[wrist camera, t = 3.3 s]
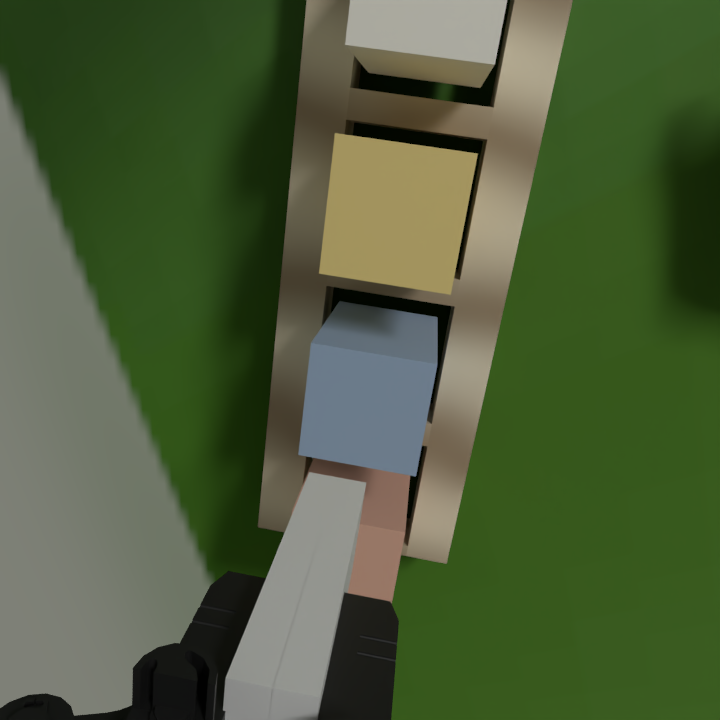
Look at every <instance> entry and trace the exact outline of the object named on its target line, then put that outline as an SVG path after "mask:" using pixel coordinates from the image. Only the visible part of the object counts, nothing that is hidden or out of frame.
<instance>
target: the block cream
mask: <svg viewBox="0 0 720 720" xmlns="http://www.w3.org/2000/svg"><path fill="white" fill-rule="evenodd" d="M506 4H507V0H350V6H349V15H348V23H347V32H346V41H345V45H346V46H347V48H348V49H349V50H350V51H351V52H352V54H353V55H354V56H355V57H356V58H357V60H358V61H359V62H360V63H361V64H362V66H363V67H364V68H365V69H366V70H367V71H368V73H373V74H381V75H388V76H395V77H403V78H410V79H417V80H425V81H432V82H439V83H447V84H454V85H462V86H469V87H476V88H481V86H482V85H483V83H484V81H485V80H486V78H487V77H488V75H489V73H490V72H491V70H492V69H493V67H494V65H495V62H496V57H497V51H498V46H499V41H500V36H501V30H502V25H503V20H504V15H505V10H506Z"/></svg>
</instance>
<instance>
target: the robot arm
mask: <svg viewBox="0 0 720 720" xmlns="http://www.w3.org/2000/svg"><path fill="white" fill-rule="evenodd" d="M365 488H366V482H360V481H355V480H349V479H344V478H338V477H333V476H328V475H322V474H317V473H311V472H309V474H308V477H307V479H306V481H305V484H304V486H303V489H302V491H301V494H300V496H299V499H298V501H297V504H296V506H295V509H294V511H293V513H292V516H291V518H290V521H289V523H288V526H287V528H286V531H285V533H284V536H283V538H282V541H281V543H280V545H279V548H278V550H277V553H276V555H275V558H274V560H273V563H272V565H271V568H270V570H269V572H268V575H267V577H266V578H261V577H256V576H250V575H245V574H240V573H235V572H230V571H228V572H227V573H226V574H224V575H223V576H222V577H221V578H219V579H218V580H217V581H216V582H214V583H213V584H212V585H211V586H210V588H209V589H208V591H207V593H206V595H205V597H204V599H203V601H202V603H201V606H200V608H198V610H197V612H196V614H195V616H194V618H193V621H192V623H190V625H189V627H188V629H187V631H186V633H185V635H184V637H183V638H182V640H181V642H180V644H179V643H174V644H170V645H166V646H162V647H158V648H156V649H154V650H153V651H151V652H149V653H148V654H146V655H144V656H143V657H142V658H141V659H140V661H139V662H138V663H137V664H136V665H135V666H134V668H133V698H132V700H133V701H132V706H129V707H127V708H124V709H122V710H118V711H113V712H108V713H99V714H89V715H78V716H74V715H73V712H72V708H71V706H70V705H69V704H68V703H67V702H66V701H64V700H63V699H62V698H61V697H57V696H53V695H49V694H36V695H27V696H25V697H22V698H19V699H17V700H14V701H11V702H9V703H7V704H6V705H5V706H3V707H2V708H0V720H391V713H392V700H393V688H394V675H395V660H396V649H397V637H398V624H399V621H398V618H397V616H396V613H395V611H394V609H393V606H392V604H391V602H390V601H386V600H381V599H375V598H370V597H365V596H360V595H355V594H350V593H348V589H349V584H350V579H351V574H352V569H353V562H354V556H355V550H356V544H357V538H358V531H359V525H360V519H361V513H362V506H363V500H364V494H365Z"/></svg>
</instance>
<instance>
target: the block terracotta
mask: <svg viewBox="0 0 720 720" xmlns="http://www.w3.org/2000/svg"><path fill="white" fill-rule="evenodd" d="M309 472H311V473H317V474H322V475H328V476H333V477H338V478H344V479H349V480H355V481H360V482H366V488H365V494H364V500H363V506H362V513H361V519H360V525H359V531H358V538H357V544H356V550H355V556H354V562H353V569H352V574H351V579H350V584H349V589H348V593H350V594H355V595H360V596H365V597H370V598H375V599H381V600H386V601H390V602H391V604H392V599H393V594H394V589H395V583H396V578H397V573H398V568H399V563H400V557H401V552H402V547H403V542H404V536H405V530H406V518H407V507H408V495H409V484H410V475H405V474H399V473H394V472H388V471H383V470H377V469H372V468H367V467H361V466H356V465H350V464H345V463H339V462H334V461H328V460H323V459H317V458H313V461H312V463H311V466H310V468H309V471H308V473H307V475H306V478H305V480H304V483H303V485H302V488H301V490H300V492H299V495H298V497H297V500H296V502H295V505H294V507H293V509H292V513H293V511H294V509H295V506H296V504H297V501H298V499H299V496H300V494H301V491H302V489H303V486H304V484H305V481H306V479H307V477H308V474H309ZM291 516H292V514H291Z"/></svg>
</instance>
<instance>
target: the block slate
mask: <svg viewBox="0 0 720 720" xmlns="http://www.w3.org/2000/svg"><path fill="white" fill-rule="evenodd" d="M437 358H438V317H434V316H428V315H422V314H415V313H409V312H403V311H397V310H391V309H385V308H379V307H373V306H367V305H361V304H354V303H348V302H342V301H339V303H338V304H337V306H336V307H335V308H334V310H333V311H332V313H331V314H330V316H329V317H328V319H327V320H326V322H325V323H324V325H323V326H322V328H321V329H320V331H319V332H318V333H317V335H316V336H315V338H314V339H313V341H312V342H311V348H310V357H309V365H308V374H307V383H306V392H305V400H304V409H303V418H302V427H301V435H300V444H299V453H298V455H301V456H307V457H312V458H317V459H323V460H328V461H334V462H339V463H345V464H350V465H356V466H361V467H367V468H372V469H377V470H383V471H388V472H394V473H399V474H405V475H410V476H416V474H417V469H418V463H419V458H420V453H421V448H422V443H423V437H424V432H425V427H426V422H427V416H428V411H429V406H430V401H431V396H432V390H433V385H434V380H435V375H436V370H437Z"/></svg>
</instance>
